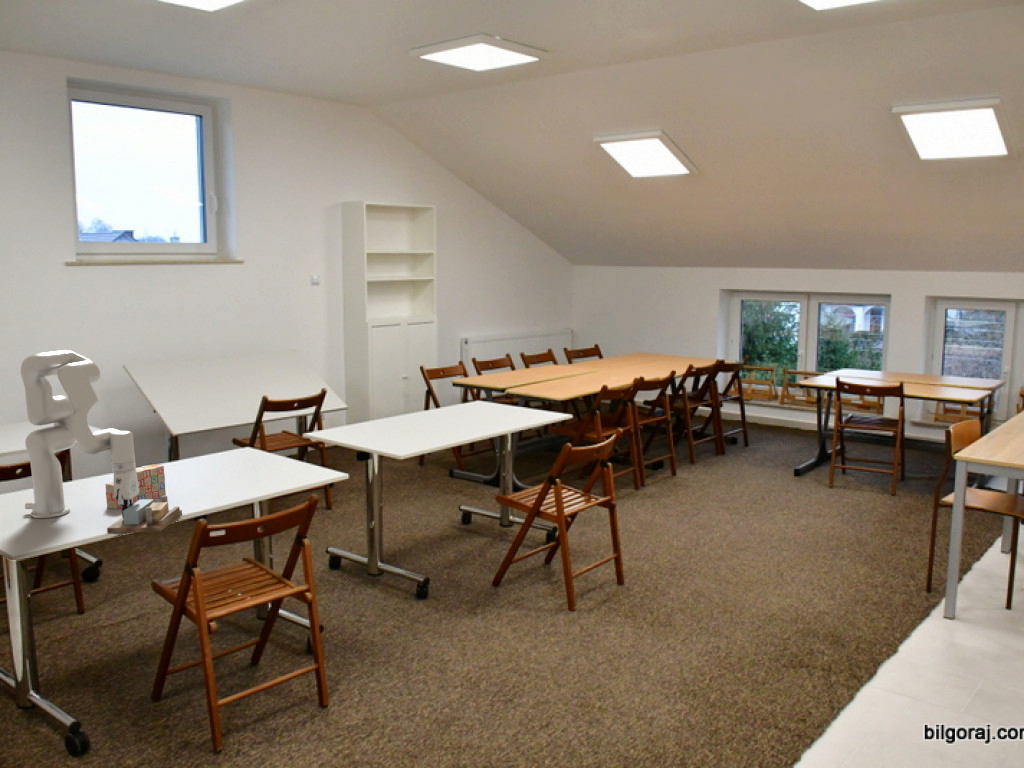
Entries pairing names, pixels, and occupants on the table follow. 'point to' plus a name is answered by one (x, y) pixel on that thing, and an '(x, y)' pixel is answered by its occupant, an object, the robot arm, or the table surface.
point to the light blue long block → (136, 512)
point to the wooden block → (159, 510)
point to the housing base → (143, 524)
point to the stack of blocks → (142, 485)
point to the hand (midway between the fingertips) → (128, 517)
